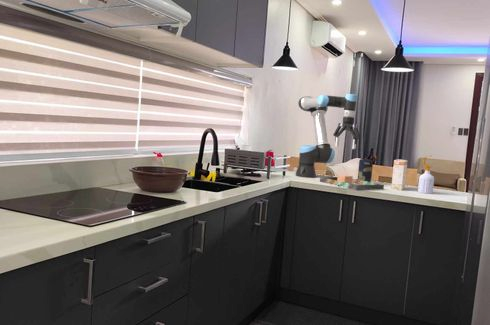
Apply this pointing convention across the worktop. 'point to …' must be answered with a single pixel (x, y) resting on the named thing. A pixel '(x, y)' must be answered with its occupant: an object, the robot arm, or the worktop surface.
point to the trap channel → (362, 184)
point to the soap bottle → (426, 181)
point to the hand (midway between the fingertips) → (345, 147)
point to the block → (345, 178)
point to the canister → (365, 170)
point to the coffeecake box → (399, 174)
